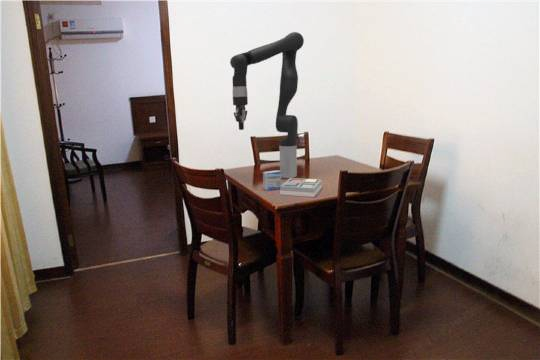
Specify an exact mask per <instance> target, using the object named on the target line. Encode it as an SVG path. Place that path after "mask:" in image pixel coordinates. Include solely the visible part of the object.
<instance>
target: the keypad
mask: <svg viewBox="0 0 540 360" xmlns="http://www.w3.org/2000/svg"><path fill="white" fill-rule="evenodd" d="M307 179H308V178H297V177H294V178H287V180H286V181H285V182H283V183H281V186H280V189H279V190H280V191H279V194H280V196H282V195H283V196H293V197H294V196H295V197H310V198H314V197H316V195H317V194H318V193H319V192H320V191H321V189H322V188H323V185H322V184H323V180H322V179H317V183H305V181H306V180H307ZM292 180H302V182H301V183H299V182H298V185H297V186H296V187H294V186H285V184H286V183H287V182H290V181H292ZM303 184H305V185H314V186H313V187H312V188H310V187H301V186H302V185H303Z"/></svg>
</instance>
